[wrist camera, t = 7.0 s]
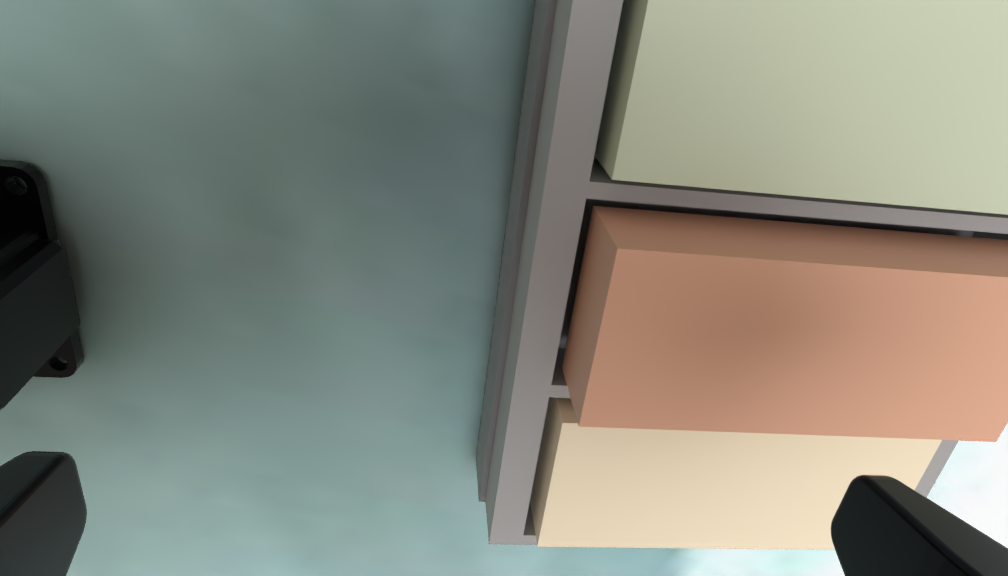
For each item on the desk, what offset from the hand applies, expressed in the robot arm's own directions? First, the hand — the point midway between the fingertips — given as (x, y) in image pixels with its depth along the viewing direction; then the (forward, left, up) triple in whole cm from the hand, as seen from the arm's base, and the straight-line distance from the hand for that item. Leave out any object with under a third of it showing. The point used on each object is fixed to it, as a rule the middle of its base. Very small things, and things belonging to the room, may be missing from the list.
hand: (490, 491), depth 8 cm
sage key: (+8, +4, -10) cm, 14 cm away
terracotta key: (+8, -2, -9) cm, 12 cm away
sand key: (+8, -7, -10) cm, 15 cm away
